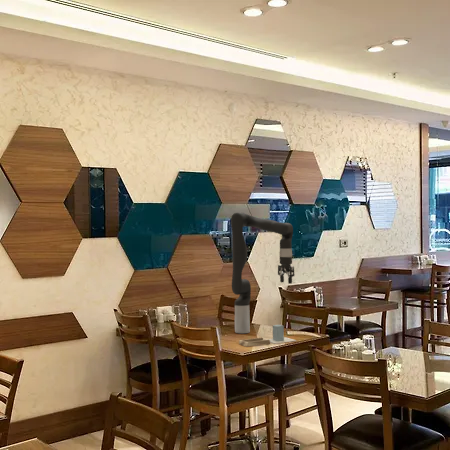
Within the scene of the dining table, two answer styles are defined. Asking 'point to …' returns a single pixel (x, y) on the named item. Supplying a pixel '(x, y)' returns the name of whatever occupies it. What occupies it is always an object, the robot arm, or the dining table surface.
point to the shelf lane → (253, 342)
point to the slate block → (278, 332)
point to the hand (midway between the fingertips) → (286, 282)
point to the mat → (281, 341)
